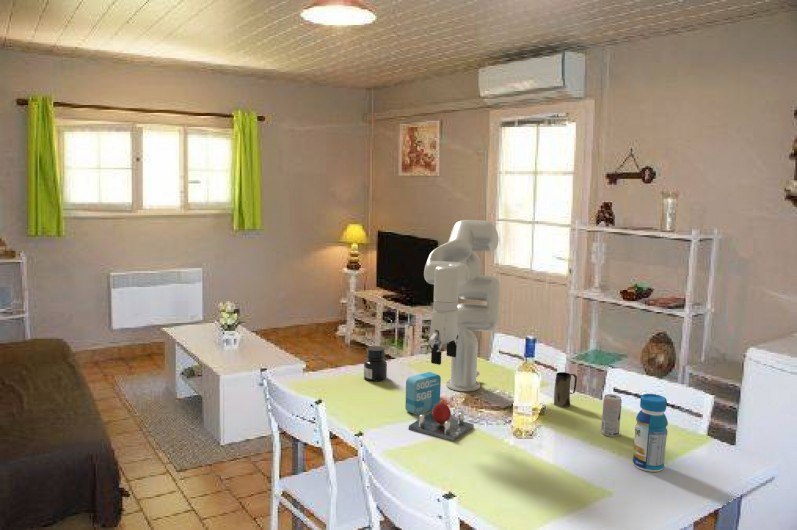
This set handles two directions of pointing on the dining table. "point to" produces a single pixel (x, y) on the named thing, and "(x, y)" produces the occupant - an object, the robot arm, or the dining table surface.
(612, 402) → the energy drink
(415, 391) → the data package
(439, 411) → the onion
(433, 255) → the robot arm
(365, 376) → the ink bottle
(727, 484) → the dining table surface
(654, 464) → the beverage bottle
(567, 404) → the mug
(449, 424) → the grey pegged plate
